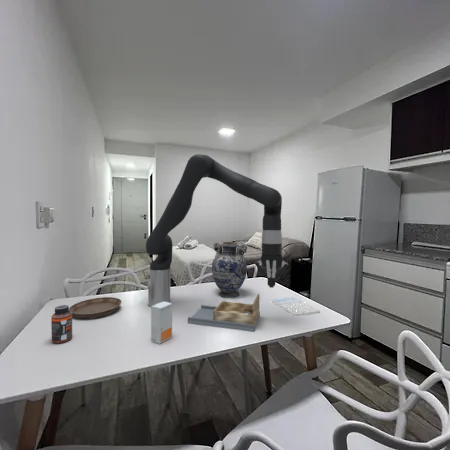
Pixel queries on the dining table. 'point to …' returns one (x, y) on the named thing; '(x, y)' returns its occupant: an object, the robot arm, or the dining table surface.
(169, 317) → the skincare box
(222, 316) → the wooden drawer
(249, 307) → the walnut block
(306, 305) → the white flat textured slab
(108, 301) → the plant saucer
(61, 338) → the supplement bottle
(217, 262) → the decorative vase
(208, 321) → the rail board
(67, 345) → the dining table surface
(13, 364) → the dining table surface
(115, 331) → the dining table surface
